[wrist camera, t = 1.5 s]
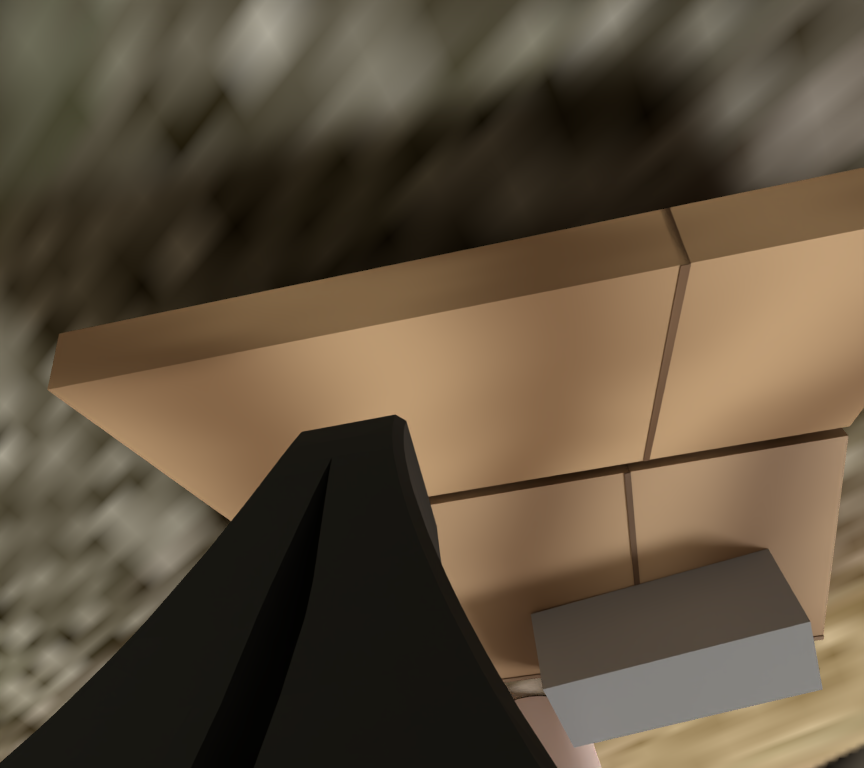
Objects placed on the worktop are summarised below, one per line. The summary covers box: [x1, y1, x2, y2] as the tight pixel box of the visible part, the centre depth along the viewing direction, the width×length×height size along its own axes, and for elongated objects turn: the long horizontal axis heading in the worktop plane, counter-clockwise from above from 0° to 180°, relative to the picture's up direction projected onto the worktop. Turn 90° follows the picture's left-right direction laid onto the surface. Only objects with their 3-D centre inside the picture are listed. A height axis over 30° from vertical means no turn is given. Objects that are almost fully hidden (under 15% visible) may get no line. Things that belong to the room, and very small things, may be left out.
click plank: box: [48, 168, 864, 521], centre depth 15 cm, size 16×8×1 cm, turn 102°
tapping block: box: [531, 549, 822, 748], centre depth 20 cm, size 7×3×2 cm, turn 112°
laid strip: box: [429, 428, 848, 682], centre depth 21 cm, size 16×8×1 cm, turn 102°
